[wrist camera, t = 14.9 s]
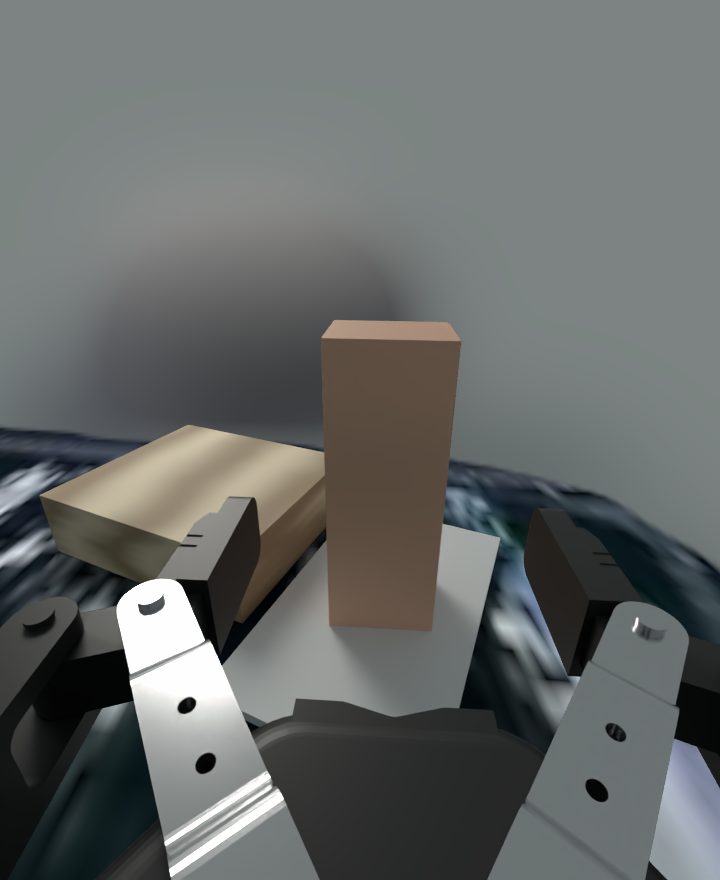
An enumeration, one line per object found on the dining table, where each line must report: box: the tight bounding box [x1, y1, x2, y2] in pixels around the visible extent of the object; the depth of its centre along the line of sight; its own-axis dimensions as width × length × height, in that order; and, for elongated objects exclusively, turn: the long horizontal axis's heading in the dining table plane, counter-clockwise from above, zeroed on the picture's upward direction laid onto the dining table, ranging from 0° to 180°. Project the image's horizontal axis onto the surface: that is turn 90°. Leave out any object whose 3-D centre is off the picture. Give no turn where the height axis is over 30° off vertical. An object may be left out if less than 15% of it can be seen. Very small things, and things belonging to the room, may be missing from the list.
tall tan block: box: [321, 320, 461, 631], centre depth 21 cm, size 5×4×14 cm
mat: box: [222, 524, 500, 727], centre depth 23 cm, size 10×16×1 cm, turn 156°
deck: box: [39, 425, 326, 624], centre depth 29 cm, size 14×12×4 cm
